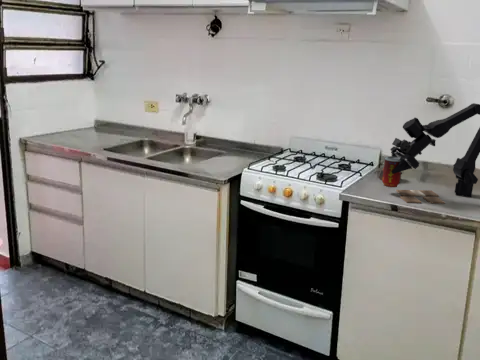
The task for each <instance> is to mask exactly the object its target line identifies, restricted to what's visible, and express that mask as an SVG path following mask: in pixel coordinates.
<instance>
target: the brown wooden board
mask: <svg viewBox="0 0 480 360" xmlns="http://www.w3.org/2000/svg"><path fill="white" fill-rule="evenodd" d="M395 192H397V193H398V194H399V195H401V196H414V197H438V198H439V197H440V195H439V194H438V193H436V192H434V191H433V190H431V189H428V190H427V189H423V190H422V189H396V191H395Z"/></svg>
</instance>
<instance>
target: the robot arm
mask: <svg viewBox="0 0 480 360" xmlns="http://www.w3.org/2000/svg"><path fill="white" fill-rule="evenodd" d="M476 115H479V116H480V104H478V103H475V102H474V103H471V104H469V105H468V106H466V107H464V108H462V109H461V110H459V111H457V112H454V113H452V114H451V115H449V116H447V117H446V118H442V119H436V120H434V121H431V122H429V123H428V124H422V123H421V122H420V119H418V117H414V118H411V119H409V120H407V121H405V122H404V123H403V125H402V129H403V130H404V131H405V132H406V134H407V135H408V136H409V137H410V138H412V139H413V138H414V139H413V140H411V141H409V140H406V139H400V138H397V137H395V138H394V140H393V142H392V147H391V148H390V149H389V150H390V151H391V152H390V153H391V156H390V157H399V158H400V159H401V161H400V163H399V164H398V165H397V166H396V167H395V168H394V169H393V171H392V173H393V174H394V173H398V172H403V171H406V170H407V171H408V170H412V169H414V170H416V169H417V168H418V167H420V166H419V165H420V162H419V161H418V160H417V158H415V157H417V156H418V155H420V156H421V155H422V154H423V153H422V151H423V150H425V149H426V148H427V147H428V146H430V145H431V146H433V147H436V141H437V140H436V139H434V138H437V139H439V138H441V137H443V136H445V135H446V134H447V133H448V132H449V131H450V130H451V129H452V128H453V127H456V126H457V125H460V124H461V123H464V121H467V120H468V119H470V118H473V117H474V116H476ZM432 137H434V138H432ZM479 155H480V127H478V129H477V132H476V134H475V136H473V139H472V140H471V142H470V144H469V147H468V149H467V150H466V153H465V154H464V156H463V157H461V158H459V157H457V158H456V160H455V162H454V164H453V165H452V167H453V168H452V171H453V174H454V175H455V178H456V179H457V182H455V186H454V193H455V196H459V197H466V198H472V197H473V189H474V185H476V184H477V182H478V181H479V178H478V177H477V175H475V171H476V161H477V159H478V157H479Z"/></svg>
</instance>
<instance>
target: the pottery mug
mask: <svg viewBox="0 0 480 360" xmlns="http://www.w3.org/2000/svg"><path fill="white" fill-rule="evenodd" d="M383 170H384V167H383V168H382V170H381V171H380V172H379V175H378V179H379V180H381V181H382V179H383ZM402 174H403V171H401V174H400V180H401V179H402Z"/></svg>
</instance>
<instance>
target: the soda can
mask: <svg viewBox="0 0 480 360" xmlns="http://www.w3.org/2000/svg"><path fill="white" fill-rule="evenodd" d="M400 161H401V159H400V158H399V157H391V156H386V157H385V158H384V164H383V168H384V170H383V179H382V180H381V181H382V183H383V184H382V185H383V186H384V187H386V188H390V189H391V188H392V189H393V188H398V185H399V184H400V181H401V179H400V174H401V172H402V171H401V172H398V173H394V174H393V173H392V171H393V169H394V168H395V167H396V166H397V165H398V164H399V163H400ZM401 175H402V174H401Z"/></svg>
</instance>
